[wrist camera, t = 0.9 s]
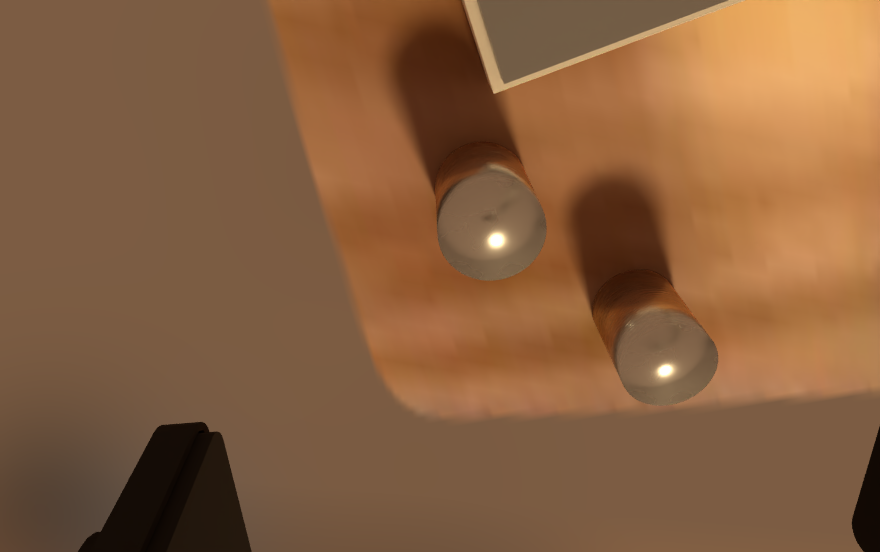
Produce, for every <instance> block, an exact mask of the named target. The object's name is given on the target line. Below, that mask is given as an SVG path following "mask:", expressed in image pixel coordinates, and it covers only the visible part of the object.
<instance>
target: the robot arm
mask: <svg viewBox="0 0 880 552" xmlns="http://www.w3.org/2000/svg"><path fill="white" fill-rule="evenodd" d="M852 529H853V533H854V536H855V538H856V541H857V543H858V544H859V546H860V547H861V549H862V550H863V551H864V552H880V427H879V430H878V434H877V437H876V441H875V444H874V447H873V451H872V454H871V457H870V461H869V464H868V468H867V471H866V474H865V478H864V481H863V484H862V488H861V491H860V495H859V498H858V501H857V504H856V508H855V511H854V515H853V519H852ZM78 552H251V548H250V544H249V540H248V536H247V532H246V528H245V524H244V520H243V517H242V512H241V508H240V504H239V500H238V496H237V492H236V488H235V484H234V480H233V477H232V473H231V468H230V464H229V460H228V456H227V452H226V449H225V444H224V441H223V438H222V435H221V434H220V433H219V432H209V429H208V427H207V425H206V424H205V423H203V422H195V423H183V424H170V425H161V426H159V427H158V428H157V429H156V430H155V432H154V433H153V435H152V437H151V439H150V441H149V443H148V445H147V446H146V448H145V450H144V452H143V454H142V456H141V458H140V459H139V462H138V463H137V465H136V467H135V469H134V471H133V473H132V475H131V476H130V478H129V480H128V482H127V484H126V486H125V488H124V489H123V491H122V493H121V495H120V497H119V499H118V501H117V502H116V505H115V506H114V508H113V510H112V512H111V514H110V516H109V517H108V519H107V521H106V523H105V525H104V527H103V529H102V531H101V532H96V533H94V534H92V535H91V536H90V537H88V538H87V539H86V541H85V542H84V543H83V545H82V546H81V548H80V549H79V551H78Z"/></svg>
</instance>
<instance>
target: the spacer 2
mask: <svg viewBox="0 0 880 552" xmlns="http://www.w3.org/2000/svg"><path fill="white" fill-rule="evenodd" d="M592 314H593V320H594V322H595V325H596V327H597V329H598V331H599V333H600V335H601V338H602V340H603V342H604V344H605V346H606V348H607V351H608V353H609V355H610V357H611V359H612V362H613V364H614V366H615V368H616V370H617V372H618V375H619V377H620V379H621V381H622V383H623V385H624V387H625V389H626V390H627V392H628V393H629V394H630V395H631V396H632V397H634V398H635V399H637V400H638V401H641V402H643V403H646V404H650V405H658V406H664V405H672V404H677V403H680V402H683V401H685V400H687V399H690V398H691V397H693V396H695V395H696V394H698V393H699V392H700V391H701V390H703V389H704V388H705V387H706V386H707V384H708V383H709V382H710V381H711V379H712V378H713V376H714V374H715V371H716V369H717V364H718V352H717V349H716V346H715V344H714V342H713V341H712V340H711V338H710V337H709V335H708V334H707V333H706V331H705V330H704V329H703V327H702V326H701V325H700V323H699V322H698V321H697V319H696V318H695V316H694V315H693V314H692V312H691V311H690V310H689V308H688V307H687V306H686V304H685V303H684V302H683V300H682V299H681V298H680V296H679V295H678V293H677V292H676V291H675V289H674V288H673V287H672V285H671V284H670V283H669V281H668V280H667V279H666V278H664V277H663V276H662V275H660V274H658V273H656V272H653V271H649V270H631V271H627V272H624V273H621V274H619V275H617V276H615V277H613V278H612V279H610V280H609V281H608V282H606V283H605V284H604V285H603V286H602V287H601V289H600V290H599V292H598V293H597V295H596V297H595V300H594V303H593V308H592Z"/></svg>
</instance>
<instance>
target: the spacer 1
mask: <svg viewBox="0 0 880 552" xmlns="http://www.w3.org/2000/svg"><path fill="white" fill-rule="evenodd" d="M435 195H436V214H437V232H438V241H439V245H440V249H441V251H442V253H443V255H444V257H445V258H446V260H447V261H448V262H449V263H450V264H451V265H452V266H453V267H454V268H455V269H456V270H458V271H459V272H461V273H462V274H464V275H466V276H469V277H472V278H475V279H479V280H500V279H504V278H508V277H511V276H513V275H515V274H517V273H519V272H521V271H522V270H524V269H525V268H527V267H528V266H529V265H530V264H531V263H532V262H533V261H534V260H535V258H536V257H537V256H538V254H539V253H540V251H541V249H542V247H543V244H544V241H545V237H546V219H545V214H544V212H543V209H542V207H541V205H540V202H539V200H538V198H537V196H536V194H535V192H534V189H533V187H532V185H531V183H530V181H529V179H528V176H527V174H526V172H525V170H524V168H523V166H522V164H521V162H520V161H519V159H518V158H517V157H516V156H515V155H514V154H513V153H512V152H511V151H510V150H508V149H507V148H505V147H503V146H501V145H498V144H495V143H491V142H475V143H470V144H467V145H464V146H462V147H460V148H458V149H456V150H455V151H454V152H452V153H451V154H450V155H449V156H448V157H447V158H446V159H445V160H444V162H443V163H442V165H441V167H440V168H439V171H438V173H437V177H436V182H435Z"/></svg>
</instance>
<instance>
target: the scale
mask: <svg viewBox="0 0 880 552" xmlns="http://www.w3.org/2000/svg"><path fill="white" fill-rule="evenodd" d="M742 1H745V0H462V3H463V6H464V9H465V12H466V15H467V19H468V22H469V25H470V28H471V31H472V34H473V37H474V40H475V43H476V47H477V50H478V53H479V56H480V59H481V62H482V65H483V68H484V71H485V75H486V78H487V81H488V83H489V85H490V87H491V89H492V91H493V93H494V94H495V93H498V92H500V91H503V90H506V89H508V88H511V87H514V86H516V85H519V84H522V83H524V82H527V81H530V80H532V79H535V78H538V77H540V76H543V75H546V74H549V73H551V72H554V71H557V70H559V69H562V68H565V67H567V66H570V65H573V64H575V63H578V62H581V61H583V60H586V59H589V58H592V57H594V56H597V55H600V54H602V53H605V52H608V51H610V50H613V49H616V48H618V47H621V46H624V45H626V44H629V43H632V42H634V41H637V40H640V39H643V38H645V37H648V36H651V35H653V34H656V33H659V32H661V31H664V30H667V29H669V28H672V27H675V26H677V25H680V24H683V23H686V22H688V21H691V20H694V19H696V18H699V17H702V16H704V15H707V14H710V13H712V12H715V11H718V10H720V9H723V8H726V7H728V6H731V5H734V4H737V3H739V2H742Z"/></svg>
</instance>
